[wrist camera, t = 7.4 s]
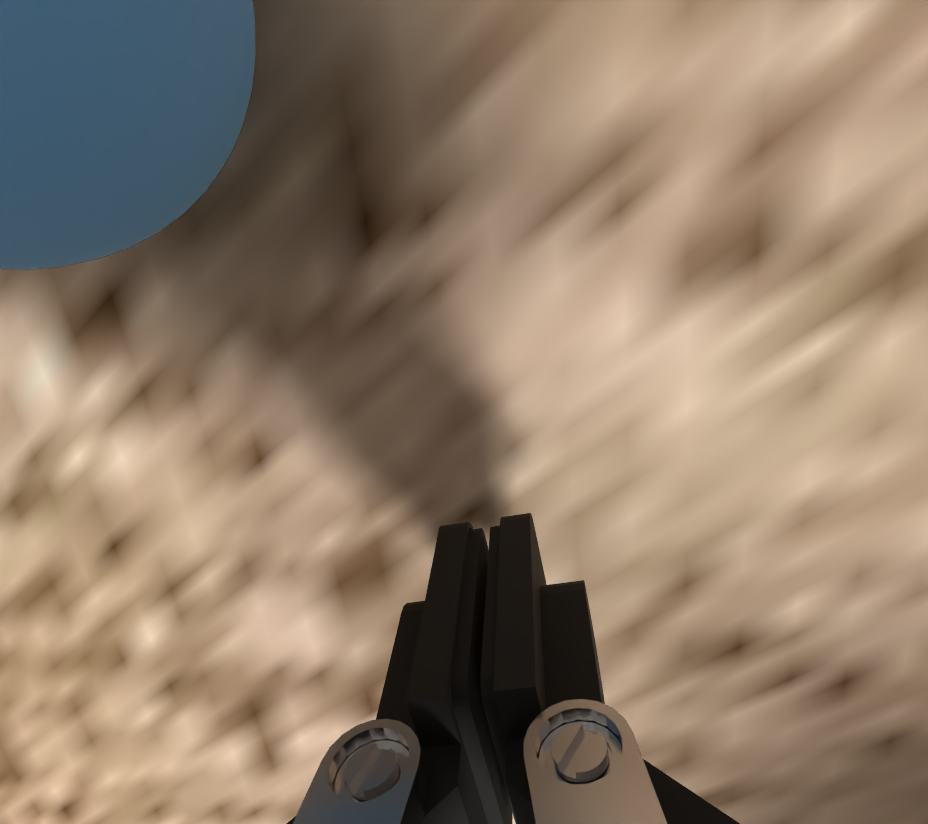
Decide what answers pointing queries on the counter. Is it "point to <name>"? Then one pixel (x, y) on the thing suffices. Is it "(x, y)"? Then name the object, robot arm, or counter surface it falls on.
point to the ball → (113, 119)
